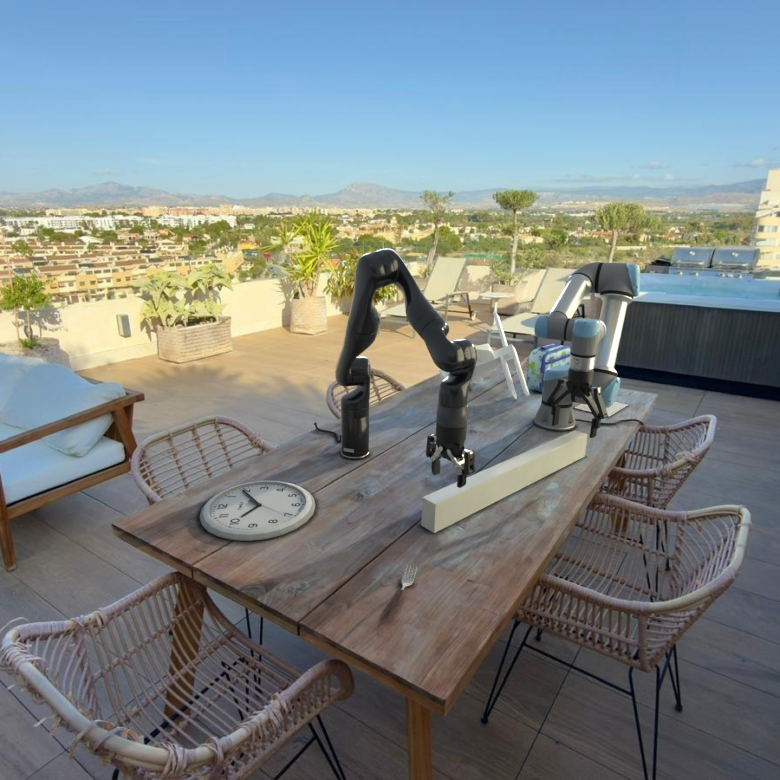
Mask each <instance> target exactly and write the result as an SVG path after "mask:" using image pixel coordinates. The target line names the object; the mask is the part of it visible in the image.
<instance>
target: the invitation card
mask: <svg viewBox="0 0 780 780" xmlns="http://www.w3.org/2000/svg"><path fill="white" fill-rule="evenodd" d="M628 406H629V404H627V403H623V402H618V401H614V403H613V404H612V405H611V406H610V407H608V408H606V411H607V414H608V417H607V418H609V417H611V416H613V415H614V414H616V413H617V412H619V411H621V410H623V409H624V408H626V407H628ZM573 409H575V410H581V411H584V412H587V413H592V412H591V410H590V409H589V407H588V405H586V404H580V403H579V404H578V405H575V406H574V407H573Z"/></svg>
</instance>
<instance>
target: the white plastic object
mask: <svg viewBox="0 0 780 780" xmlns="http://www.w3.org/2000/svg"><path fill="white" fill-rule="evenodd" d="M492 315H493V319H494V321H495V324H496V325H495V326H496V328H497V332H498V335H499V338H500V342H501V345H502V347H500V348H498V349H496V350H495V349H493V348H492V347H491V346H490V344H489V343H488V342H487V343H483V344H479V345H474V346H475V348H476V352H477V362H476V366H475V370H474V373H473V376H472V380H471V382H470V383H473V384H477V383H480V382H482V381H484V378H485V377H486V376H487V375H489V374H490V373H492V372H494V371H495V370H496V369H497V368H499V367H500V366H502V370H503V373H504V376H505V380H506V383H507V386H508V390H509V393H510V394H511V395H512V397H513V398H514V399H515V400H517V392H516V391H517V390H516V388H515V385H514V381H513V378H512V375H511V371H510V369H509V365H508V361H510V360H513V363H514V366H515V369H516V372H517V376H518V380H519V382H520V385H521V389H522V391H523V393H524V395H525V396H526V397H528V396H531V395H530V389H528V387H527V380H526V378H525V375H524V371H523V369H522V368H523V367H522V366H521V362H520V359H519V355H518V352H517V349H516V347H515V346H514V345H513V343H511V344H508V341H507V337H506V334H505V331H504V328H503V325H502V321H501V318H500V315H499V314H498V312H497V311H496V310H495V311H492ZM454 340H459V339H458V338H454ZM454 340H453V341H454ZM438 372H439V376H440V381H442V380H443V379H445V378H446V377H447V376H448V375H449V372H445V371H442V370H441V369H439V371H438Z"/></svg>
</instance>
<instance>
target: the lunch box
mask: <svg viewBox="0 0 780 780" xmlns="http://www.w3.org/2000/svg"><path fill="white" fill-rule="evenodd" d="M570 353H571V347H570V346H569V345H561V344H556V343H551V344H547V345H543V346H540V347H537V348H534V349H533V350H532V351H531V352H530V353H529V356H528V361H527V362H528V363H527V371H526V384H527V387H528V390H531V391H537V392H540V393H541V394H542V391H543V382H544V381H543V379H544V375H545V371H546V369H548V368H550V367H553V366H561V365H568V366H569V362H570Z"/></svg>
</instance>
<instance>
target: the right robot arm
mask: <svg viewBox="0 0 780 780" xmlns="http://www.w3.org/2000/svg"><path fill="white" fill-rule="evenodd" d="M640 291H641V268H640V266H639V265H638V264H636V263H628V262H606V261H604V262H603V261H602V262H601V261H593V262H589V263H586V264H584V265H582V266H580V267H579V268H577V269H575V270H574V271H572V273H570V274H569V276H568V277H567V279H566V280H565V285H564V289H563V290H562V292H561V294H560V295H559V297H558V298H557V300H556V302H555V303H554V305H553V307H552V308H551V310H550V311H549V312H548V314H547V315H539V316H537V317H536V320H535V323H534V330H533V331H534V335H535V336H536V337H537V338H539V339H540V338H541V339H545V340H554V341H563V342H570V343H571V344H570V346H571V347H570V349H571V353H570V362H569V366H568V365H561V366H553V367H550V368H548V369H546V371H545V375H544V379H543V381H544V382H543V391H542V393H541V402H540V405H539V407H538V410H537V411H536V413H535V417H534V424H535V425H536V426H537V427H539V428H542V429H544V430H549V431H556V432H567V431H573V430H574V429H575V428H576V422H581V423H587V424H591V425H590V432H589V439H593V438H595V437H597V432H598V429H599V428H601V425H602V426H615V425H618V424H619V423H626V422H637V423H639V424H640V425H643V426H644V425H645V424H644V422H643V421H641V420H639V419H637V418H627V419H619V420H617V421H615V422H603V421H602V420H604V419H606V418H609V417H608V414H607V411H606V408H608V407H610V406H611V405H612V404H613V403H614V402H616V401H615V400H616V399H617V396H618V394H619V390H620V385H621V378H620V377H618V373H619V372H618V371H617V370H616V369H615V366H616V363H617V356H618V352H619V347H620V342H621V339H622V338H621V337H622V332H623V327H624V323H625V320H626V319H625V318H626V314H627V308H628V306H629V305H630V304H631V303H633V302H634V299H635V298H636V297H639V296H640ZM589 294H599V299H600V300H601V302H602V305H601V308H600V309H601V310H600V314H599V319H598V318H588V317H587V318H585V317H584V318H581V317H580V318H573V317H574V315H575V313H576V312H577V310H578V308H579V306H580V305H581V303H582V301H583V299H584V298H585V297H587V296H588V295H589ZM574 403H575V404H579V405H580V404H586V405H588V407H589V409H590V410H591V412H590V413H592V414H591V415H593V418H591V420H586V419H580V418H575V417H576V416H575V413H574V407H573V405H574Z"/></svg>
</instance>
